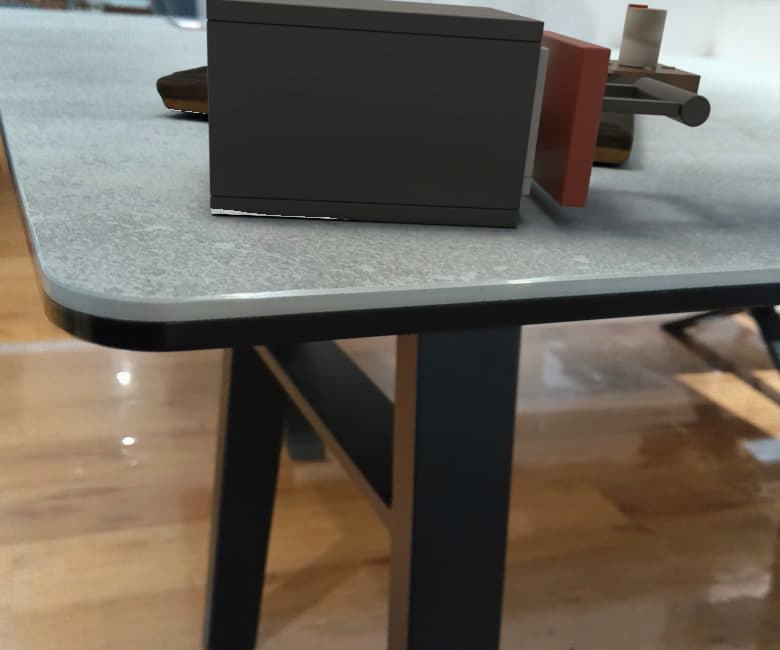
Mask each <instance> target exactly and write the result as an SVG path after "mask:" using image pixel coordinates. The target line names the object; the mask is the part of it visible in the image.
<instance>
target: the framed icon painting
mask: <svg viewBox="0 0 780 650" xmlns="http://www.w3.org/2000/svg"><path fill="white" fill-rule="evenodd" d="M606 83H609V84H625V85H633V83H632V80H631V79H630V78H628V77H625V76H624V75H622V74H616V73H608V74H607V80H606ZM155 87H156V91H157V93H158V95H159V96H160V98H161V101H162V103H163V105H164V107H165V108H166V109H167V108H168V109H174V110H181V111H192V112H199V113H205V114H208V75H207V65H202V66H199V67H194V68H188V69H185V70H179V71H174V72H172V73H171V74H168V75H164V76H161V77H160V78H158V79H157V80H156V83H155ZM604 97H607V96H604ZM608 98H623V97H608ZM625 99H632V98H625ZM168 109H167V110H168ZM634 138H635V114H625V113H608V112H601V116H600V122H599V128H598V134H597V140H596V146H595V153H594V159H593V162H596V163H606V164H623V163H625V162H627V161H628V160H629V159H630V156H631V153H632V150H633V145H634V140H635V139H634Z"/></svg>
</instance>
